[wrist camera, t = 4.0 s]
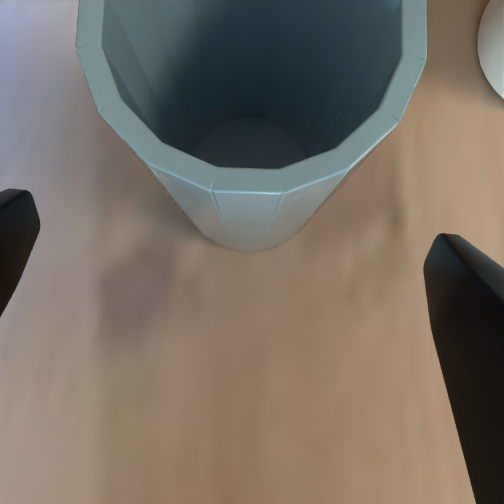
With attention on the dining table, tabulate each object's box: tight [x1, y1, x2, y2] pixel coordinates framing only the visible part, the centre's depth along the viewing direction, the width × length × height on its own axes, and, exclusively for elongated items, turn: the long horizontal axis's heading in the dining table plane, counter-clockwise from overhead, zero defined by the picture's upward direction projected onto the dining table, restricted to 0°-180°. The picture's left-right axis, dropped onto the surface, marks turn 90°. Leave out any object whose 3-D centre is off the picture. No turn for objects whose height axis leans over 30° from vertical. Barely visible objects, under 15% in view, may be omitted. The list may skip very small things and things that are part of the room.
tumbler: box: [76, 0, 427, 252], centre depth 14 cm, size 7×7×12 cm
